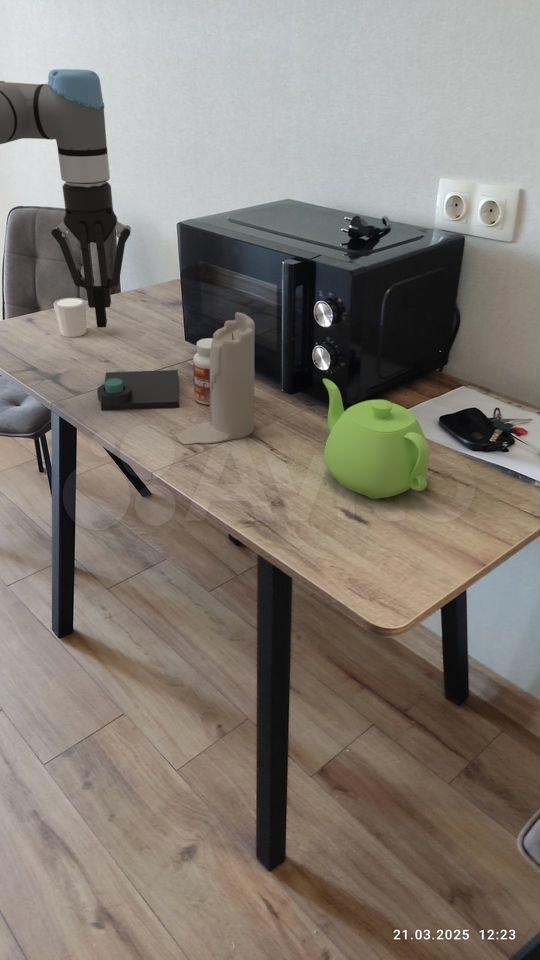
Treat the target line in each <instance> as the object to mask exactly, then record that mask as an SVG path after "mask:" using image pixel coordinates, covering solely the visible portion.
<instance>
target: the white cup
mask: <svg viewBox="0 0 540 960" xmlns="http://www.w3.org/2000/svg"><path fill="white" fill-rule="evenodd" d="M86 303H87V302H86V300H85V299H83V298H81V297H80V298H79V297H64V298H60V299H57V300H55V301H53V303H52V304H53V308H54V312H55V317H56V321H57V324H58V329H59V332H60V335H61V336H63V337H66V338H77V337H81V336H84V335H85V334H87V307H86Z"/></svg>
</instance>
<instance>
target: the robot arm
mask: <svg viewBox="0 0 540 960" xmlns="http://www.w3.org/2000/svg"><path fill="white" fill-rule="evenodd" d="M47 78H48V79H47V80H48V81H47V83H41V84H40V83H25V82H10V81H5V80H0V145H4V144H7V143H11V142H14V141H19V140H22V139H32V140H33V139H35V140H49V141H50V140H55V142H56V146H57V147H56V148H57V156H58V161H59V162H58V163H59V171H60V178H61V179H60V180H62V181H63V182H65V183H63V185H62V194H63V202H64V209H65V212H64V216H63V221H62V222H61V223H60V224H58V225H54V226H53V228H52V230H51V236H52V237H53V238H54V239H55V240H56V242H57V243H58V244H59V247H60V250H61V252H62V254H63V257H64V260H65V263H66V266H67V269H68V271H69V273H70V276H71V279H72V281H73V283H74V286H75V287H79V288H83V289H84V290H85V291H86V296H87V298H86V299H87V306H88V308H90V309H91V308H92V309H94V312H95V321H96V328H107V323H108V318H107V317H108V316H107V310H106V308H110V307H111V305H112V297H111V295H112V294H111V288H113V287H117V286H118V285H119V284H120V280H121V273H122V266H123V259H124V254H125V247H126V243H127V241H128V239H129V237H130V236H131V232H132V228H131V226H130V225H127V224H126V225H125V224H123V223H121V222H120V221H118V217H117V215H116V213H115V211H114V206H113V205H114V204H113V196H112V185H111V184H110V183H109V180H111V173H110V171H111V170H110V163H109V152H108V144H107V133H106V119H105V118H106V117H105V103H104V99H103V91H102V84H101V79H100V77H99V75H98V74H97V73H96V72H95V71H94V70H90V69H79V68H78V69H77V68H75V69H74V68H73V69H69V68H59V69H52V70H49V72H48V76H47ZM114 229H115V236H116V237H117V238H118V239H117V242H116V243H117V244H116V250H115V257H114V263H113V270H112V276H111V277H110V274H109V265H108V253H107V243H106V241H108V239H109V237H110V236H111V234H112V232H113V230H114ZM69 232H70V233H71V234H72V235H73V236H74V237H75V238H76V240H77V241H78V242H79V246H80V251H81V258H82V267H83V268H82V269H83V274H82V272H81V269H80V266H79V263H78V261H77V258H76V256H75V252H74V250H73V248H72V245H71V242H70V240H69V237H68V236H69ZM91 243H94V244H95V245H96V246H95V247H96V252H97V261H98V270H99V278H100V285H95V277H94V269H93V259H92V249H91Z"/></svg>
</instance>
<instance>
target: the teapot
mask: <svg viewBox="0 0 540 960" xmlns="http://www.w3.org/2000/svg"><path fill="white" fill-rule="evenodd" d="M322 382H323V384H324V386H325V388H326V390H327V392H328V398H329V404H328V412H327V428H328V431H329V434H328V436H327V440H326V443H325V446H324V450H323V461H324V462H323V463H324V465H325V467H326V468H327V470H328V471H329V473H330V474H331V476H333V477H334V479H335V480H336V481H337V482H338V483H339V484H340V485H342V486H343V487H345V488H346V489H348V490H350V491H353V492H356V493H357V494H360V495H363V496H366V497H367V498H369V499H373V500H379V499H381V498H390V497H395V496H397V495H400V494H403V493H404V492H406V491H408V490H410V489H411V490H413V491H415V492H416V491H417V492H420V491H423V490H425V489H426V487H427V486H428V480H427V478H426V477H425V476H426V474H427V472H428V470H429V464H430V452H431V449H430V445H429V443H428V441H427V440H426V439H427V438H426V436H425V434H424V432H423V429H422V426H421V423H420V422H419V420H418V418H417V417H416V415H415V414H414V413H413V412H412V411H410V410H409V409H407V408H406V407H404V406H402V405H399V404H397V403H394V402H391V401H389V400H388V399H387V400H386V399H369V400H364V401H361V402H358V403H356V404H353V405H351V406H349V407H347V409H346V410H345V409H344V404H343V398H342V394H341V391H340V389H339V387H338V386H337V385H336V383H334V382H333V381H332V380H330V379H328V378H322Z"/></svg>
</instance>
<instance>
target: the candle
mask: <svg viewBox="0 0 540 960" xmlns="http://www.w3.org/2000/svg"><path fill="white" fill-rule="evenodd" d="M234 314H235V315H234V317H235V319H231V320H230V319H229V320H226V321H225V322H224V325H223V327H221V328H218V329H217V330H215V332H214V333H213V334H212V338H213V340H212V343H211V352H210V405H209V421H205V422H201V423H197V424H194V425H190V426H187V428H185V429H184V430H183V431H181V432H177V433H175V434H174V436H173V437H175V438H176V439H177V440H178V442H179V443H181V444H183V445H191V444H203V445H205V444H206V445H208V444H217V443H221V442H226V441H231V440H236V439H242V438H245V437H248V436H250V435H252V433H253V432H254V429H255V373H256V370H255V369H256V368H255V337H256V335H255V334H256V333H255V332H256V329H255V328H256V327H255V326H256V325H255V321H254V320H253V319H252V318H251V316H249V315H247V314H245V313H243V312H239V311H238V312H237V311H236V312H235V313H234Z"/></svg>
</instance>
